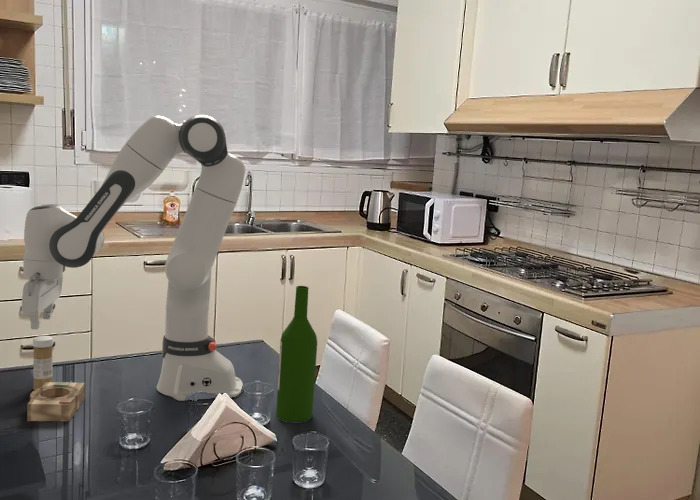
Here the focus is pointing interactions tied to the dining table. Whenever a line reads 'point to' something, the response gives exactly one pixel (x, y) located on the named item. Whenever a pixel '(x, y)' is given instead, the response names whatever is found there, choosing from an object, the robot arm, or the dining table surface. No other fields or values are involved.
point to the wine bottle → (297, 364)
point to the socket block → (55, 401)
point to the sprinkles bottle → (42, 360)
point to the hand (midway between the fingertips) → (41, 323)
